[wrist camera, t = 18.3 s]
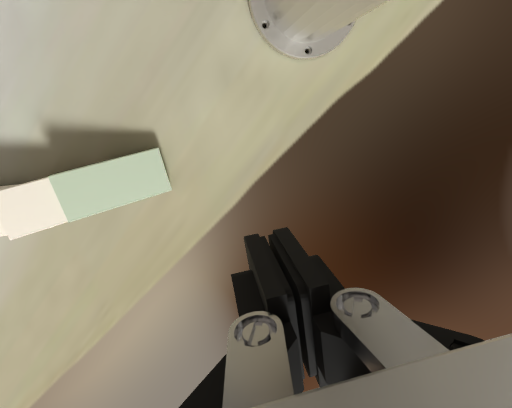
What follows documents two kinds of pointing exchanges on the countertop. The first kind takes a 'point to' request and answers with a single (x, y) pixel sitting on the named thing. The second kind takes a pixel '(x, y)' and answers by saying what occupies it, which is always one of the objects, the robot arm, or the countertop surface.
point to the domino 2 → (110, 184)
